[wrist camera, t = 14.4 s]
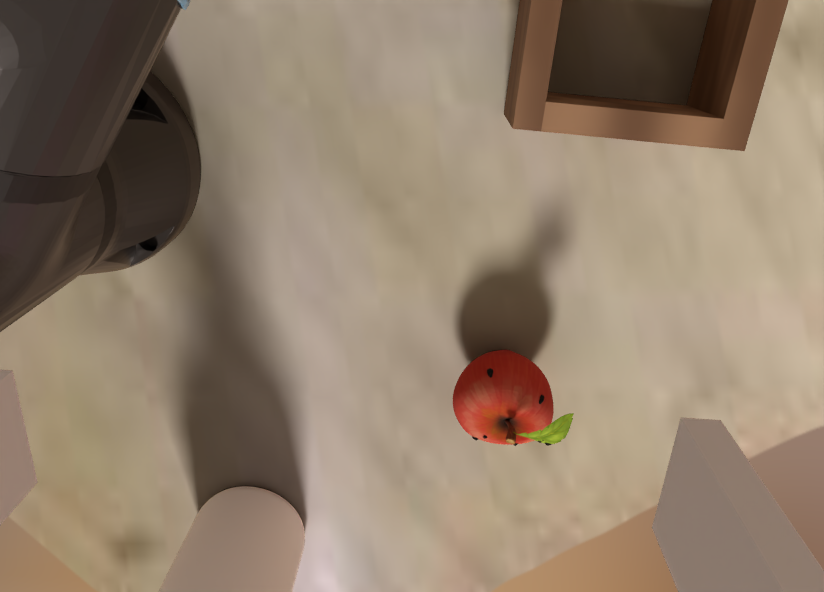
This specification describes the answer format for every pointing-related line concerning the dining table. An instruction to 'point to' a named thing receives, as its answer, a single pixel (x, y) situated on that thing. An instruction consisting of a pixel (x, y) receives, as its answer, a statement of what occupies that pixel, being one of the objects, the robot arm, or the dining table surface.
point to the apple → (507, 401)
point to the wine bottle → (240, 545)
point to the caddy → (640, 120)
